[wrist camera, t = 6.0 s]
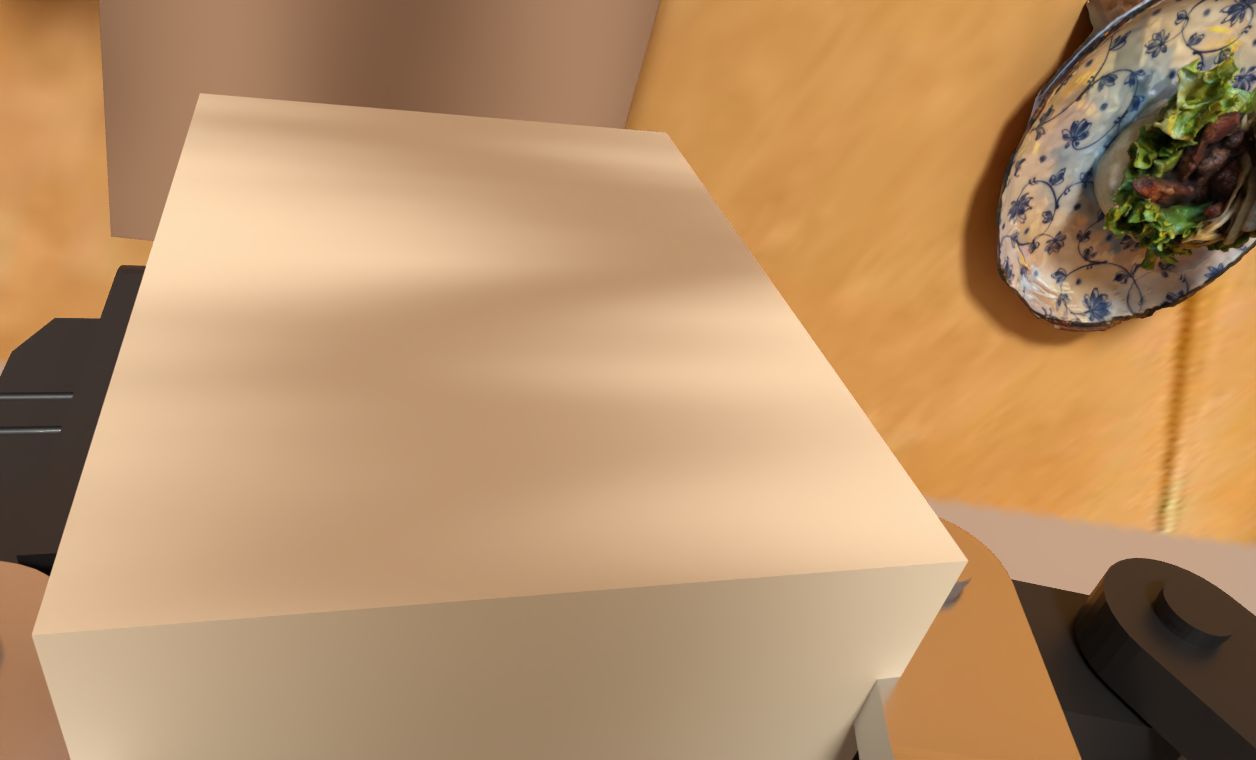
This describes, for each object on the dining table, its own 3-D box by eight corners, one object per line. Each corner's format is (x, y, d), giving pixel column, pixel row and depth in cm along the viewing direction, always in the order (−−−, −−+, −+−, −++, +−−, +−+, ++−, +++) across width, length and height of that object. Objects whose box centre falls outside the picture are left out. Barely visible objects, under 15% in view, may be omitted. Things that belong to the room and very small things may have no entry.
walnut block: (652, -204, 19) (710, -179, 16) (549, 211, 25) (578, 288, 22) (128, -375, 16) (78, -382, 13) (143, 154, 21) (111, 236, 18)
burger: (1028, -52, 24) (1246, 37, 18) (1387, -67, 26) (1679, 7, 20) (925, 325, 31) (1057, 472, 25) (1212, 286, 33) (1391, 413, 28)
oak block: (665, 132, 10) (968, 562, 5) (597, 452, 12) (756, 925, 8) (199, 94, 8) (30, 633, 4) (235, 462, 11) (162, 1049, 6)
